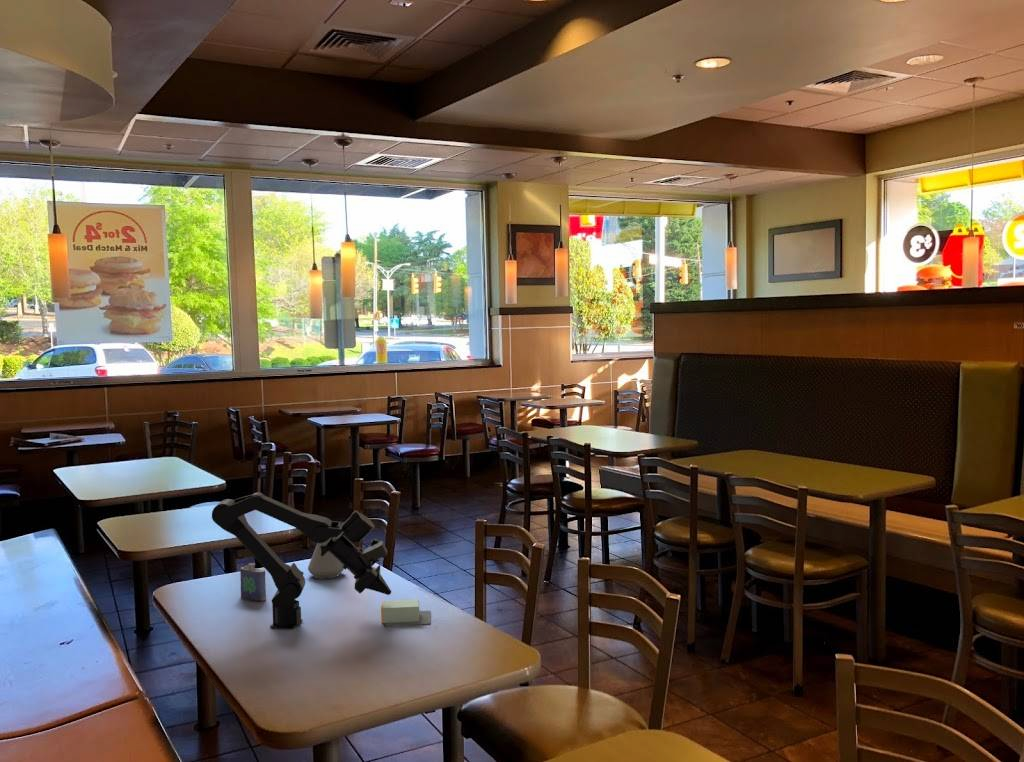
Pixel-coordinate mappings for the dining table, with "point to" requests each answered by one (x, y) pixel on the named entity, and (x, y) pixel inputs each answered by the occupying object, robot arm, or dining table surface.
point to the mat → (423, 619)
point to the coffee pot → (324, 564)
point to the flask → (253, 583)
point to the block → (400, 611)
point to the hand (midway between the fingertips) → (390, 593)
